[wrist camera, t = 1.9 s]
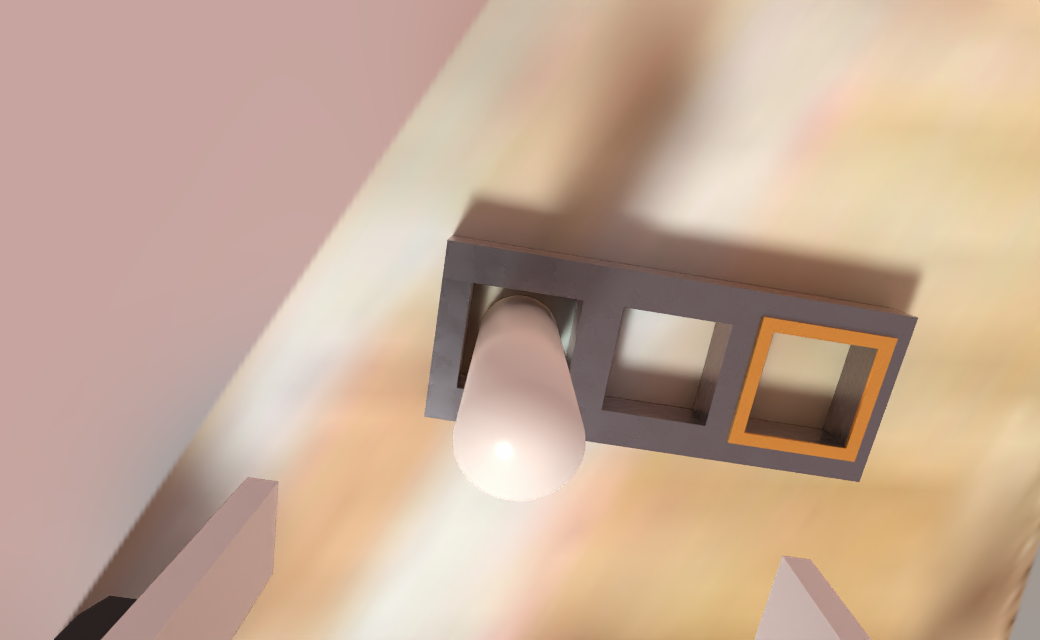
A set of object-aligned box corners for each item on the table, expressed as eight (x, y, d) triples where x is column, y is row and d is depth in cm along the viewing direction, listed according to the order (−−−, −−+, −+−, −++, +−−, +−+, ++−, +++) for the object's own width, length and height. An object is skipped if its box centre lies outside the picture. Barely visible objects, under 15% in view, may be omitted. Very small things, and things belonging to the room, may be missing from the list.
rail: (430, 400, 36) (423, 418, 34) (452, 235, 34) (447, 240, 31) (837, 462, 38) (861, 483, 35) (890, 307, 35) (920, 318, 32)
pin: (474, 364, 36) (444, 490, 21) (485, 289, 34) (462, 370, 20) (550, 375, 36) (571, 509, 21) (564, 302, 35) (597, 391, 20)
